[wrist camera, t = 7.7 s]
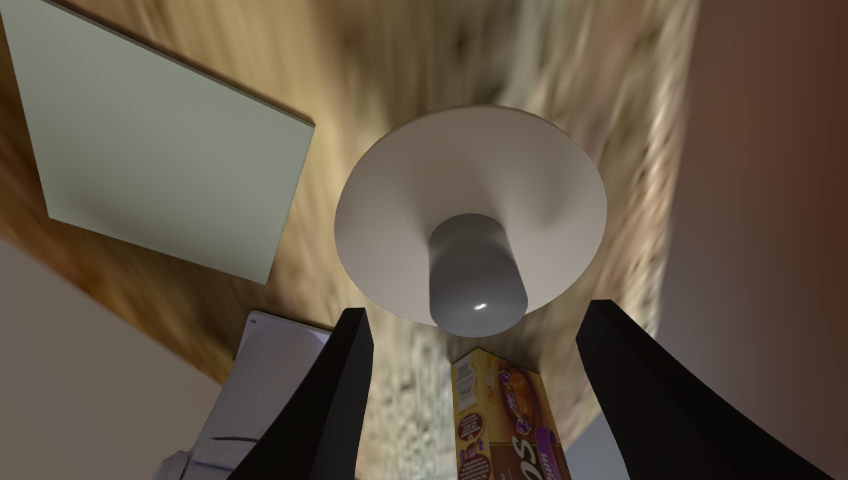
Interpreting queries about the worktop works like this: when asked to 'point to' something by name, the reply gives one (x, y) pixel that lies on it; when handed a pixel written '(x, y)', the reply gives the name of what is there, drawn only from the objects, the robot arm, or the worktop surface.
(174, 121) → the mat
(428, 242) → the lid
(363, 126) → the worktop surface
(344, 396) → the robot arm
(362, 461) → the worktop surface
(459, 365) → the candy box
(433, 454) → the worktop surface
